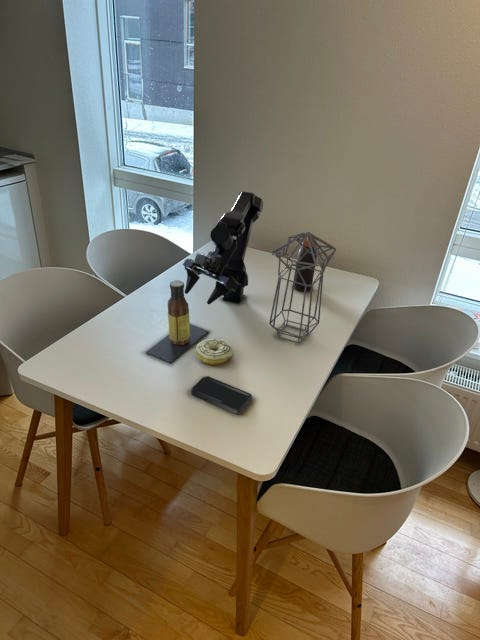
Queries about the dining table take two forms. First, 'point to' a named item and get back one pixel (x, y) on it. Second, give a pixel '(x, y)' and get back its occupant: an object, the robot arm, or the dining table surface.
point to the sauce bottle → (178, 314)
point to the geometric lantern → (315, 244)
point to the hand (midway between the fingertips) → (196, 298)
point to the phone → (221, 394)
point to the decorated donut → (214, 351)
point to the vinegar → (305, 273)
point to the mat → (172, 351)
